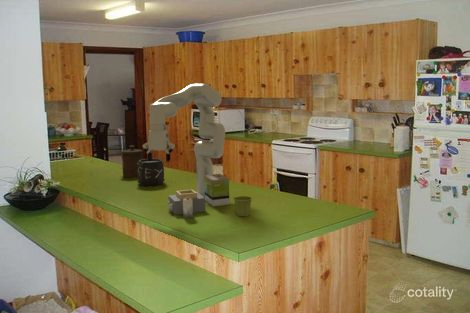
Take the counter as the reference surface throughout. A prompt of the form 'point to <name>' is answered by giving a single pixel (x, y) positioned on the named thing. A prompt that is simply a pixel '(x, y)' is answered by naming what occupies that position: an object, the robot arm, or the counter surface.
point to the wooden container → (131, 161)
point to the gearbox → (177, 200)
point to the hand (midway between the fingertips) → (159, 161)
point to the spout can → (187, 208)
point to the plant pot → (243, 205)
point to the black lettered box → (150, 172)
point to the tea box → (216, 189)
